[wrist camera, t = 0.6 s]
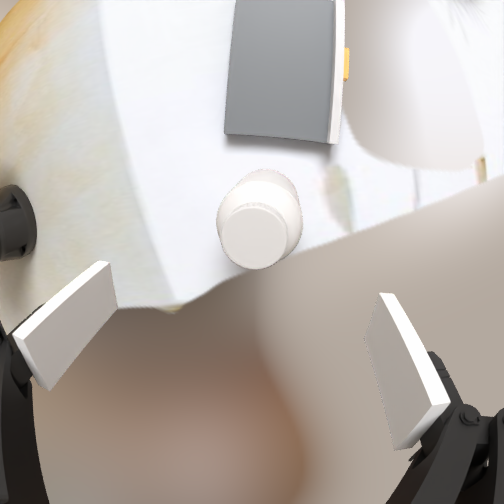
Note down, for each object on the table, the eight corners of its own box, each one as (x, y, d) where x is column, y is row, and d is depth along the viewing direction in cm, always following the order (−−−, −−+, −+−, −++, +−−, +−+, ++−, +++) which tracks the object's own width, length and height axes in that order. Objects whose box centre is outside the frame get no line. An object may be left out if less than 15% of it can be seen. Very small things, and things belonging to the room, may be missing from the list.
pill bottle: (227, 216, 37) (193, 264, 23) (247, 159, 34) (222, 171, 20) (283, 238, 37) (282, 298, 23) (307, 182, 34) (324, 210, 20)
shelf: (227, 134, 33) (220, 133, 29) (239, -1, 25) (234, -14, 21) (336, 145, 32) (343, 145, 28) (343, 9, 24) (349, -4, 20)
